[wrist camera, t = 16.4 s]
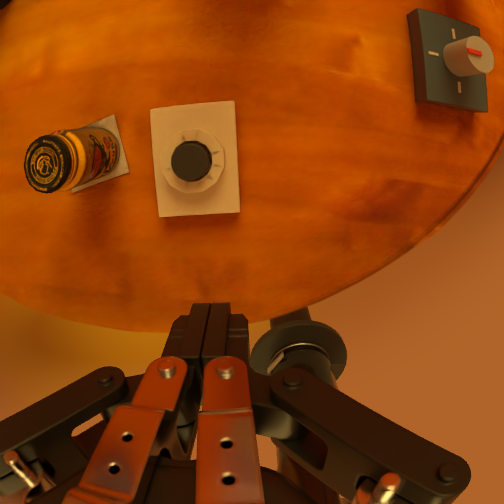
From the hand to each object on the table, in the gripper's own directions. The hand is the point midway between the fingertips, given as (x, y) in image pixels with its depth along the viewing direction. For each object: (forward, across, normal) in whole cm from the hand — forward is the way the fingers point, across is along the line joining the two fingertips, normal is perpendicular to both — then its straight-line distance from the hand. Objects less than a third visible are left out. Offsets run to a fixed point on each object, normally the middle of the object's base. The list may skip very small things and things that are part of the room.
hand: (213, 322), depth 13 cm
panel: (+25, -27, -18) cm, 41 cm away
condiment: (+25, +17, -7) cm, 31 cm away
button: (+21, +4, -5) cm, 22 cm away
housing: (+25, +4, -5) cm, 26 cm away
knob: (+22, -27, -18) cm, 39 cm away
